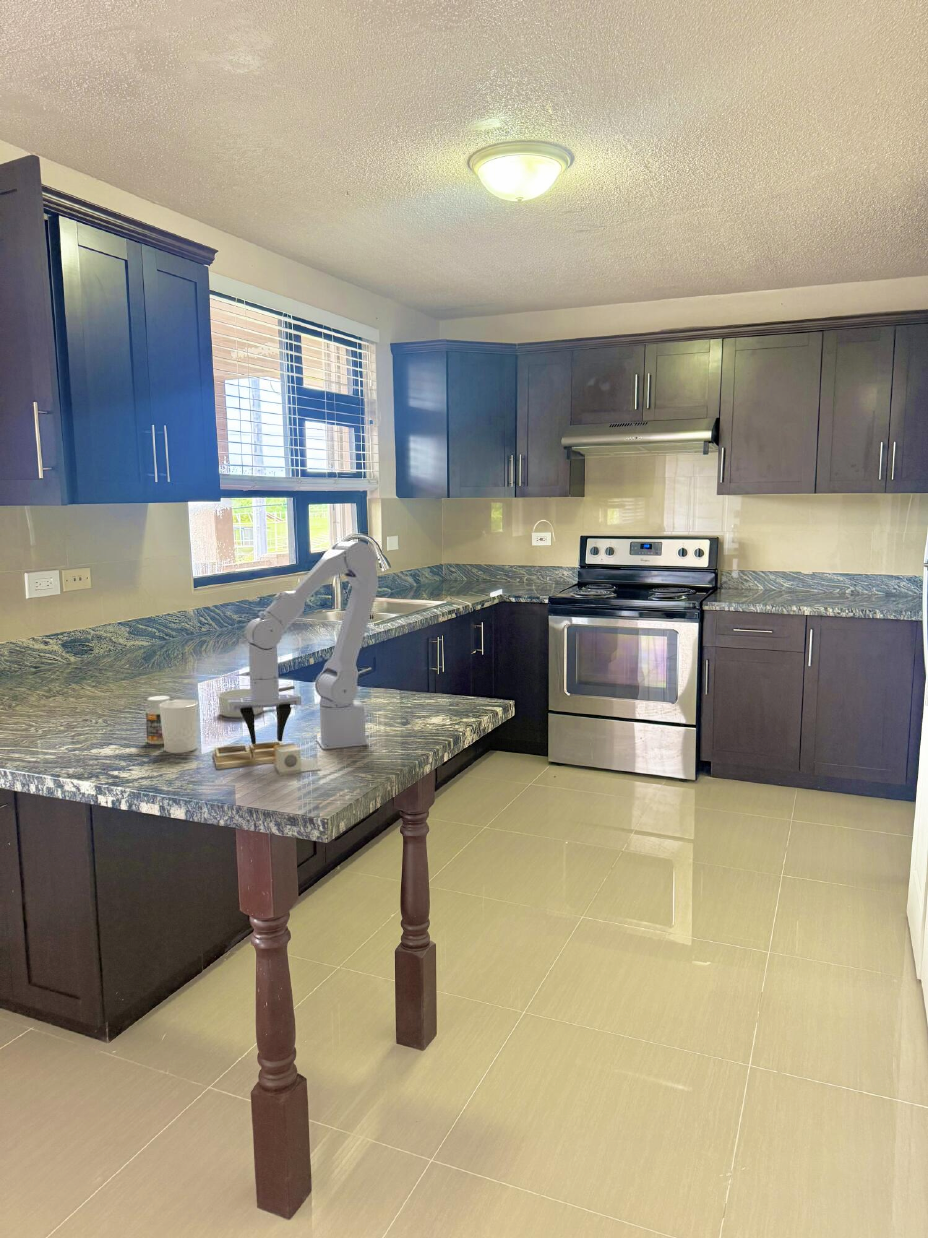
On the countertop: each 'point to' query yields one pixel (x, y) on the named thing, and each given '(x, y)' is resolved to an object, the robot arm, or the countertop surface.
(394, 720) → the countertop surface
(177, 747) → the white cup
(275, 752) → the cube with grey knob
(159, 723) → the pill bottle
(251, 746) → the socket block
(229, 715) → the saucepan
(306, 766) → the mat
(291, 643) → the countertop surface
